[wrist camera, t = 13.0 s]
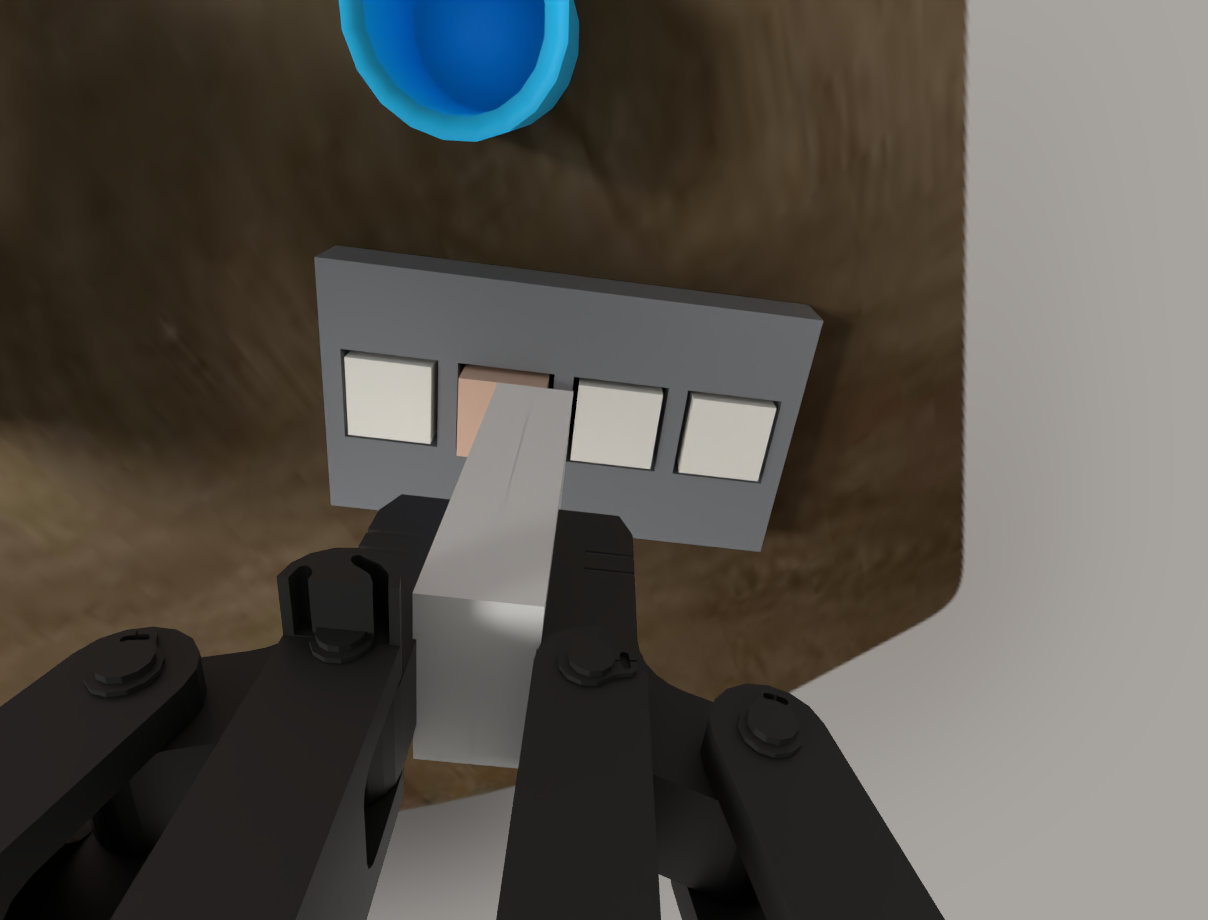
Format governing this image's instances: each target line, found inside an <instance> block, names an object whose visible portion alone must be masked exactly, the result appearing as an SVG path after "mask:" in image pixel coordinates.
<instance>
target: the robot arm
mask: <svg viewBox="0 0 1208 920" xmlns="http://www.w3.org/2000/svg"><path fill="white" fill-rule="evenodd" d="M572 400H573V391H565V390H557V389H548V388H540V387H532V386H523V385H515V384H506V383H497V385H496V388H495V390H494V393H493V395H492V398H491V400H490V402H489V405H488V407H487V410H486V412H485V415H484V417H483V420H482V422H481V425H480V427H479V430H478V432H477V435H476V437H475V440H474V442H473V445H472V447H471V450H470V452H469V454H468V457H467V459H466V462H465V464H464V467H463V469H462V472H461V474H460V477H459V479H458V482H457V484H456V487H455V489H454V492H453V494H452V497H451V499H442V498H433V497H424V496H414V495H405V494H401V495H400V496H398V497H397V498H395V499H394V500H393V501H391V502H390V503H388V504H387V505H385V506H384V507H382V508H381V509H379V511H378V513H377V515H376V516H375V518H374V520H373V522H372V523H371V525H370V527H369V529H368V533H366V534H365V536H364V538H363V539H362V541H361V543H360V545H359V548H332V549H328V550H323V551H319V552H314V553H311V554H308V555H306V556H304V557H302V558H300V559H298V560H296V561H294V562H292V563H290V564H289V565H288V566H287V567H286V568H285V569H284V570H283V571H282V572H281V573H280V574H279V575H278V576H277V583H278V592H279V601H280V609H281V618H282V627H283V636H282V638H281V639H280V641H279V643H278V644H275V645H272V646H270V647H266V648H262V649H257V650H252V651H247V652H239V653H231V654H224V655H216V656H209V657H201V656H200V652H199V650H198V648H197V646H196V644H195V642H194V640H193V638H191V637H189V636H187V635H185V634H183V633H182V632H180V631H178V630H175V629H167V628H159V627H147V628H138V629H130V630H125V631H122V632H119V633H116V634H112V635H109V636H106V637H103V638H100V639H98V640H96V641H94V642H93V643H91V644H89V645H87V646H86V647H84V648H82V649H80V650H79V651H77V652H75V653H73V654H72V655H71V656H69V657H68V658H67V659H65V660H64V661H62V662H61V663H60V664H58V665H57V666H56V667H54V668H53V669H51V670H50V671H49V672H47V673H46V674H45V675H43V676H42V677H41V678H39V679H38V680H36V681H35V682H34V683H32V684H31V685H30V686H28V687H27V688H25V689H24V690H23V691H21V692H20V693H19V694H17V695H16V696H15V697H13V698H12V699H10V700H9V701H8V702H6V703H5V704H4V705H2V706H1V707H0V920H366V919H367V916H368V913H369V909H370V906H371V903H372V899H373V895H374V892H375V889H376V886H377V882H378V879H379V875H380V872H381V869H382V866H383V862H384V859H385V855H386V852H387V848H388V845H389V842H390V838H391V835H392V832H393V828H394V825H395V822H396V818H397V815H398V812H399V808H400V805H401V801H402V798H403V785H404V763H405V760H406V757H407V753H408V750H409V747H410V744H411V741H412V737H413V759H423V760H434V761H444V762H455V763H466V764H477V765H487V766H498V767H509V768H518V773H517V780H516V787H515V794H514V801H513V807H512V814H511V821H510V828H509V835H508V842H507V849H506V856H505V863H504V871H503V877H502V884H501V891H500V898H499V905H498V911H497V919H496V920H661V914H660V913H661V912H660V895H659V878H658V874H660V875H662V876H664V877H667V878H669V879H671V884H672V888H673V891H674V894H675V898H676V901H677V905H678V908H679V911H680V914H681V917H682V920H945V919H944V918H943V916H942V914H941V913H940V911H939V909H938V908H937V906H936V905H935V903H934V901H933V900H932V898H931V897H930V895H929V893H928V892H927V890H926V888H925V887H924V885H923V884H922V882H921V880H920V879H919V877H918V876H917V874H916V872H915V870H914V869H913V867H912V866H911V864H910V862H909V861H908V859H907V858H906V856H905V854H904V853H903V851H902V849H901V848H900V846H899V844H898V843H897V842H896V840H895V838H894V837H893V835H892V833H891V832H890V830H889V828H888V827H887V825H886V823H885V822H884V820H883V819H882V817H881V815H880V814H879V812H878V811H877V809H876V807H875V806H874V804H873V803H872V801H871V799H870V797H869V796H868V794H867V793H866V791H865V789H864V788H863V786H862V785H861V783H860V781H859V780H858V778H857V776H856V775H855V773H854V772H853V770H852V768H851V767H850V765H849V763H848V762H847V761H846V759H845V757H844V755H843V754H842V752H841V750H840V749H839V747H838V746H837V744H836V742H835V741H834V739H833V737H832V736H831V734H830V733H829V731H828V729H827V728H826V726H825V725H824V723H823V722H822V721H821V720H820V719H819V717H818V716H817V715H816V714H815V713H814V711H813V710H812V709H811V708H810V707H809V706H808V705H806V704H805V703H803V702H802V701H800V700H799V699H797V698H796V697H794V696H793V695H791V694H790V693H788V692H785V691H782V690H779V689H776V688H773V687H771V686H768V685H756V684H743V685H740V686H736V687H732V688H729V689H727V690H725V691H724V692H723V693H722V694H721V695H720V696H718V697H717V698H716V699H715V700H714V702H711V701H709V700H706V699H703V698H701V697H698V696H695V695H692V694H690V693H687V692H684V691H682V690H680V689H678V688H676V687H674V686H672V685H670V684H668V683H667V682H665V681H664V680H663V679H661V678H660V677H658V676H657V675H656V674H655V673H654V672H653V671H652V670H651V669H650V668H649V666H648V665H647V664H646V663H645V661H644V659H643V656H642V654H641V653H640V651H639V646H638V641H637V621H636V599H635V577H634V560H633V556H634V555H633V535H632V533H631V532H630V531H629V529H628V528H627V526H626V525H625V523H624V522H623V521H622V519H621V518H620V516H615V515H606V514H597V513H588V512H579V511H570V510H561V500H562V491H563V482H564V473H565V464H566V454H567V445H568V436H569V427H570V418H571V409H572Z"/></svg>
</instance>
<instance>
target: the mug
mask: <svg viewBox="0 0 1208 920" xmlns="http://www.w3.org/2000/svg"><path fill="white" fill-rule="evenodd" d="M339 7H340V17H341V26H342V32H343V34H344V37H345V40H346V42H347V45H348V47H349V50H350V53H351V55H352V58H353V61H354V63H355V66H356V69H357V71H358V72H359V73H360V75H361V76H362V78H363V79H364V80H365V82H366V83H367V85H368V86H369V87H370V89H371V90H372V92H373V93H374V94H375V96H376V97H377V99H378V100H379V101H380V103H381V104H383V105H384V106H385V107H386V108H388V109H389V110H390V111H391V112H392V113H394V114H395V115H396V116H397V117H399V118H400V119H401V120H402V121H404V122H405V123H406V124H407V125H409V126H410V127H412V128H415V129H417V130H420V131H422V132H425V133H427V134H429V135H432V136H434V137H437V138H439V139H442V140H454V141H472V142H477V141H481V140H484V139H487V138H490V137H494V136H497V135H500V134H504V133H507V132H510V131H513V130H516V129H519V128H522V127H525V126H528V125H531V124H532V123H534V122H535V121H536V120H538V119H539V118H540V117H542V116H543V115H544V114H546V113H547V112H548V111H550V110H551V109H552V108H553V107H554V106H555V104H556V103H557V101H558V100H559V98H560V97H561V96H562V94H563V93H564V91H565V90H566V88H567V87H568V85H569V83H570V80H571V77H572V74H573V71H574V67H575V64H576V61H577V58H578V52H579V19H578V15H577V11H576V7H575V3H574V0H339Z"/></svg>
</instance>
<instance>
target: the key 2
mask: <svg viewBox="0 0 1208 920" xmlns="http://www.w3.org/2000/svg"><path fill="white" fill-rule="evenodd" d="M497 383H506V384H515V385H523V386H532V387H540V388H548V389H549V385H550V374H547V373H539V372H530V371H522V370H513V369H505V368H497V367H488V366H480V365H472V364H466V366H465V367H464V369H463V371H462V373H461V375H460V376H459V384H458V419H457V454H456V456H463V457H468V454H469V452H470V450H471V447H472V445H473V442H474V440H475V437H476V435H477V432H478V430H479V427H480V425H481V422H482V420H483V417H484V415H485V412H486V410H487V407H488V405H489V402H490V400H491V398H492V395H493V393H494V390H495V388H496V385H497Z"/></svg>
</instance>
